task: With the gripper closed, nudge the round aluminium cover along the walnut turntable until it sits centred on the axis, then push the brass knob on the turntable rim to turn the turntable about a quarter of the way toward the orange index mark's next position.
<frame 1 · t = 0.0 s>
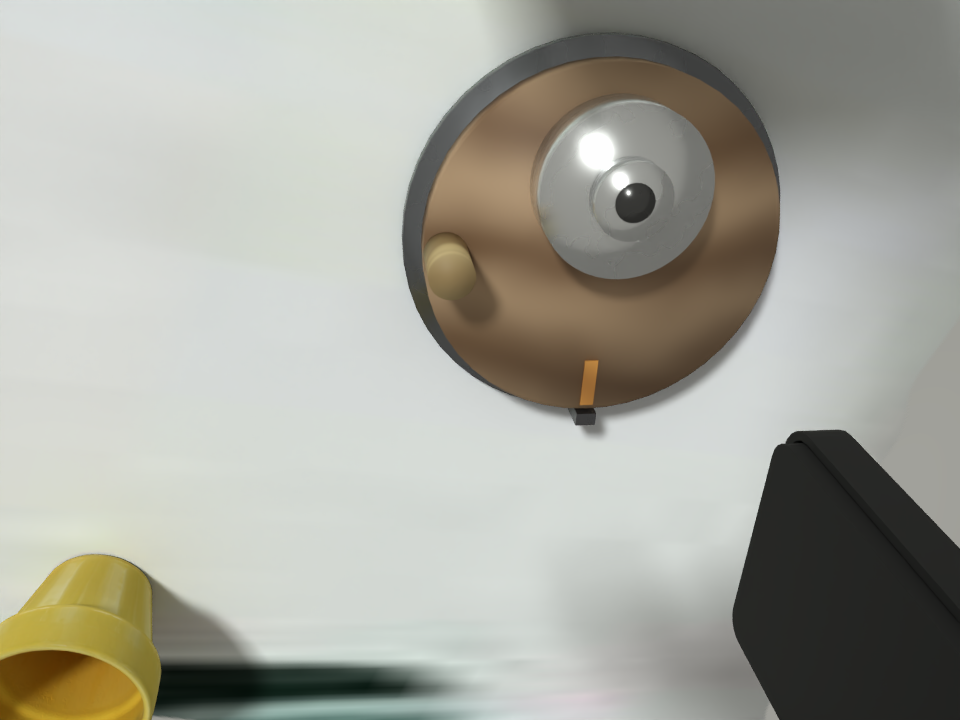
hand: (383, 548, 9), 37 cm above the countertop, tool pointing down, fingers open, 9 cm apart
plant pot: (103, 587, 55), on the countertop
cover: (613, 181, 43), point 3 cm above the countertop, touching turntable
turntable base: (591, 235, 48), on the countertop
turntable: (609, 258, 44), point 4 cm above the countertop, hinge at 0.0°, touching cover
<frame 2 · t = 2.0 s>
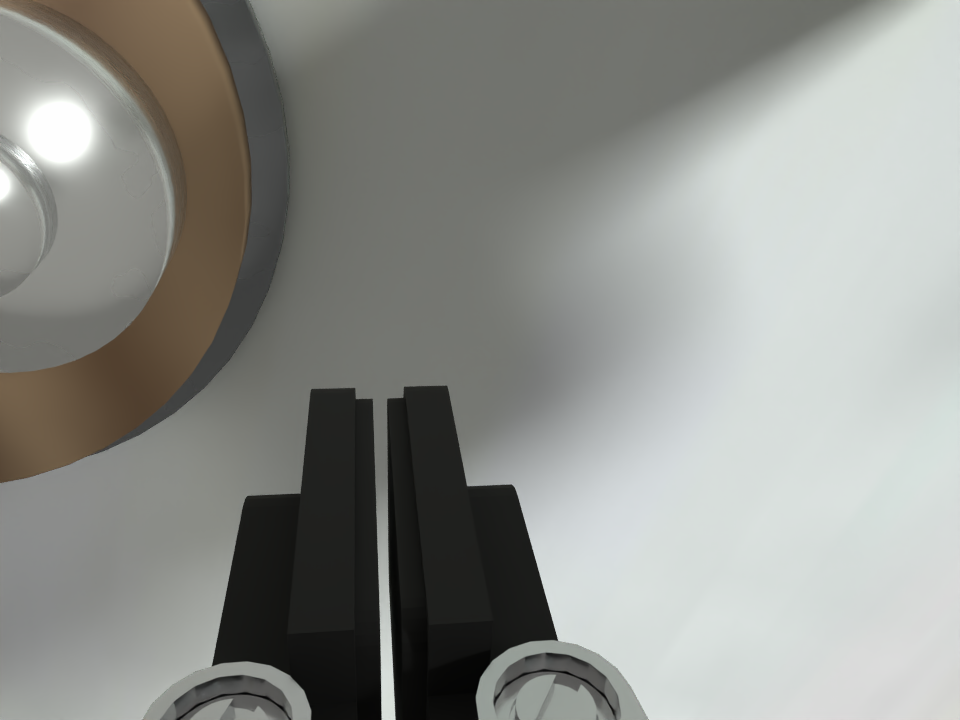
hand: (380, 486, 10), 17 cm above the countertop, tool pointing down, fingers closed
cover: (7, 174, 21), point 3 cm above the countertop, touching turntable
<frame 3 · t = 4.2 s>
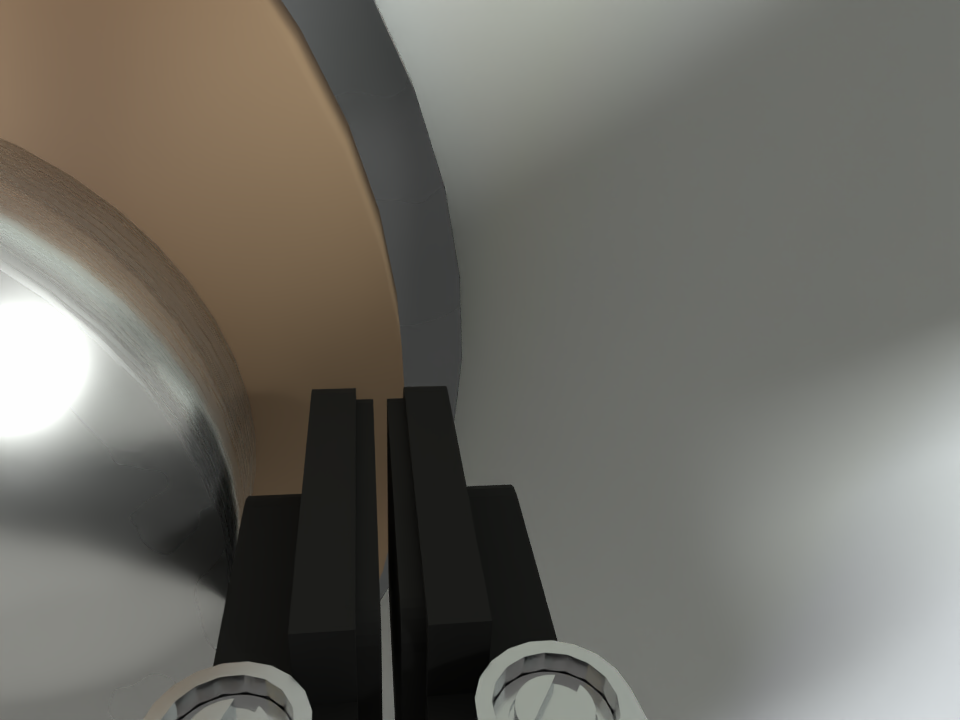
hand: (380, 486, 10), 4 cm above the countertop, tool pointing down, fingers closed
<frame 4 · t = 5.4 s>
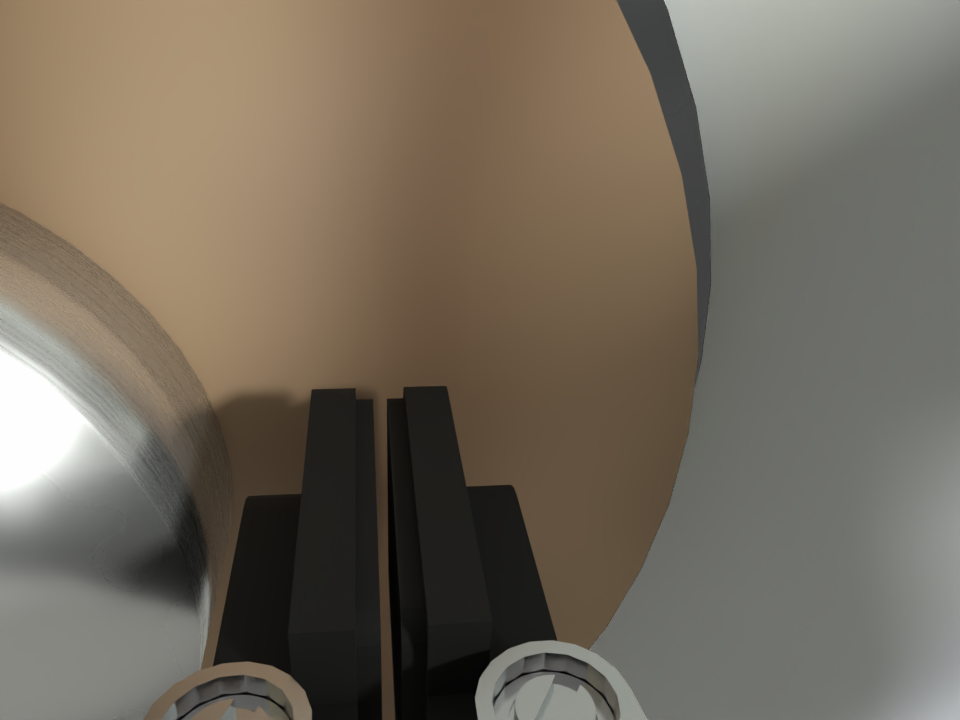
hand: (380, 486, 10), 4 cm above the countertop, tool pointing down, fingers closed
turntable base: (30, 353, 13), on the countertop
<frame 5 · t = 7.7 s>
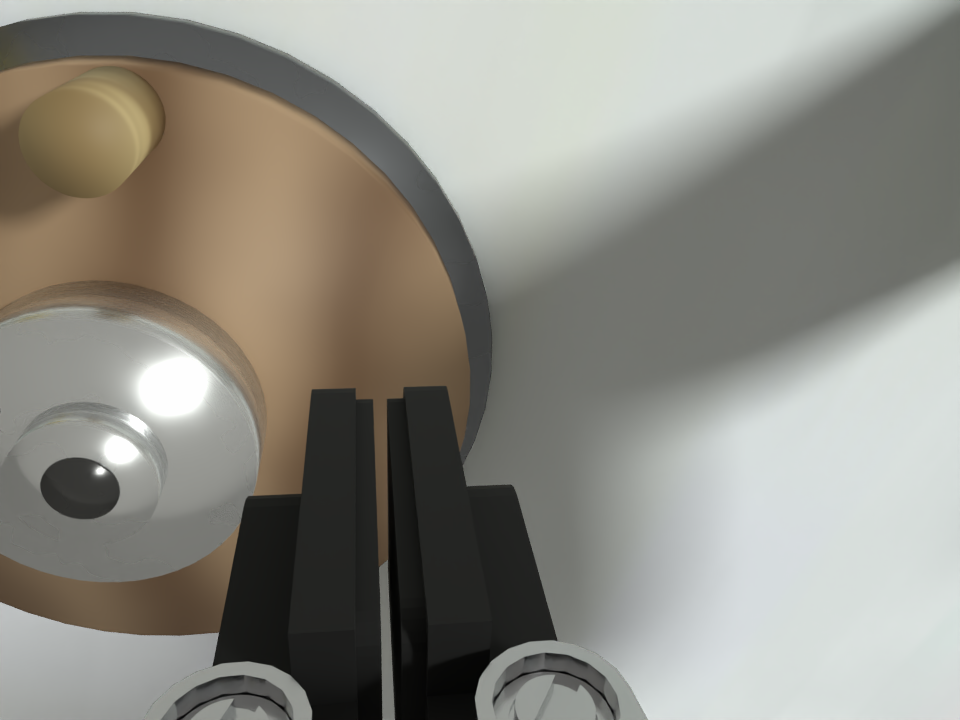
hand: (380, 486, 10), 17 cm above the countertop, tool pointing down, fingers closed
cover: (119, 414, 26), point 3 cm above the countertop, touching turntable
turntable base: (171, 358, 28), on the countertop
turntable: (145, 416, 25), point 4 cm above the countertop, hinge at -0.2°, touching cover
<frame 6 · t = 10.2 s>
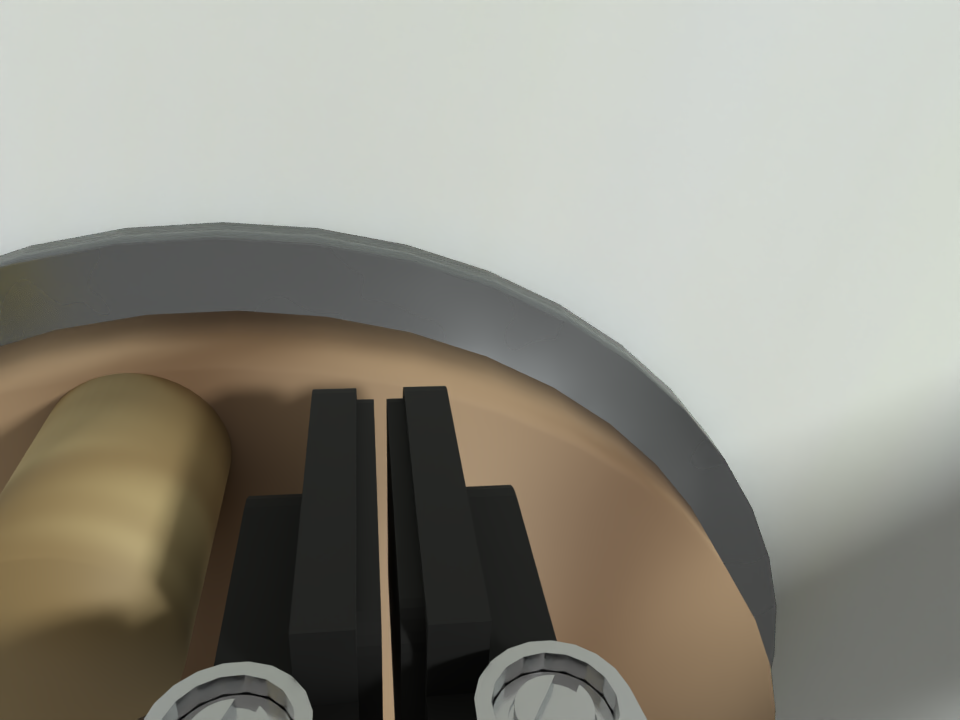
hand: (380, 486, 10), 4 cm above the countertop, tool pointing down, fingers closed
turntable base: (273, 708, 18), on the countertop
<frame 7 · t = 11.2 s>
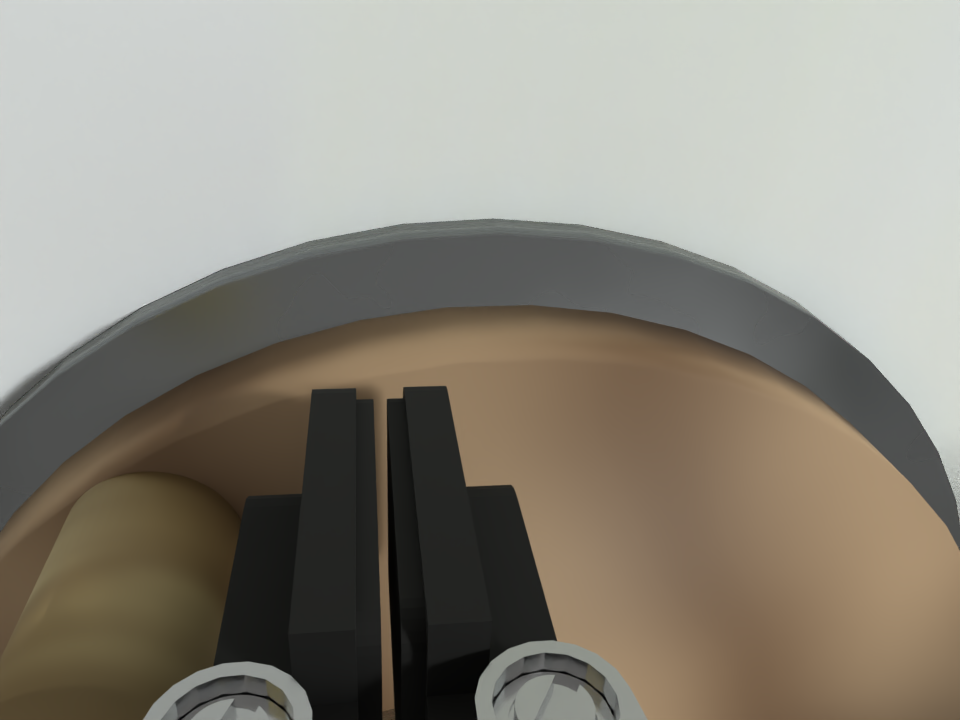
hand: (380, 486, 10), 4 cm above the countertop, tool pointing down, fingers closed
turntable base: (463, 698, 18), on the countertop
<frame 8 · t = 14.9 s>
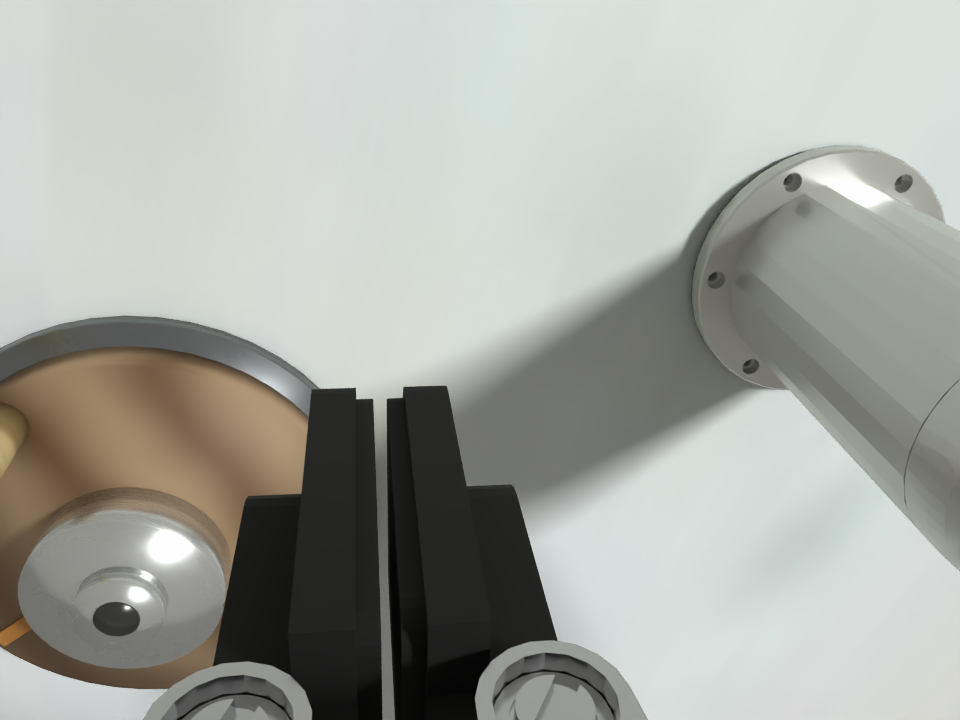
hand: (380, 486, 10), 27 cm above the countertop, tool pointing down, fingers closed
cover: (136, 561, 40), point 3 cm above the countertop, touching turntable
turntable base: (158, 508, 42), on the countertop
turntable: (141, 557, 39), point 4 cm above the countertop, hinge at 35.6°, touching cover
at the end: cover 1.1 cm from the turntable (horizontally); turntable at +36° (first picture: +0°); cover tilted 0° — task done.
